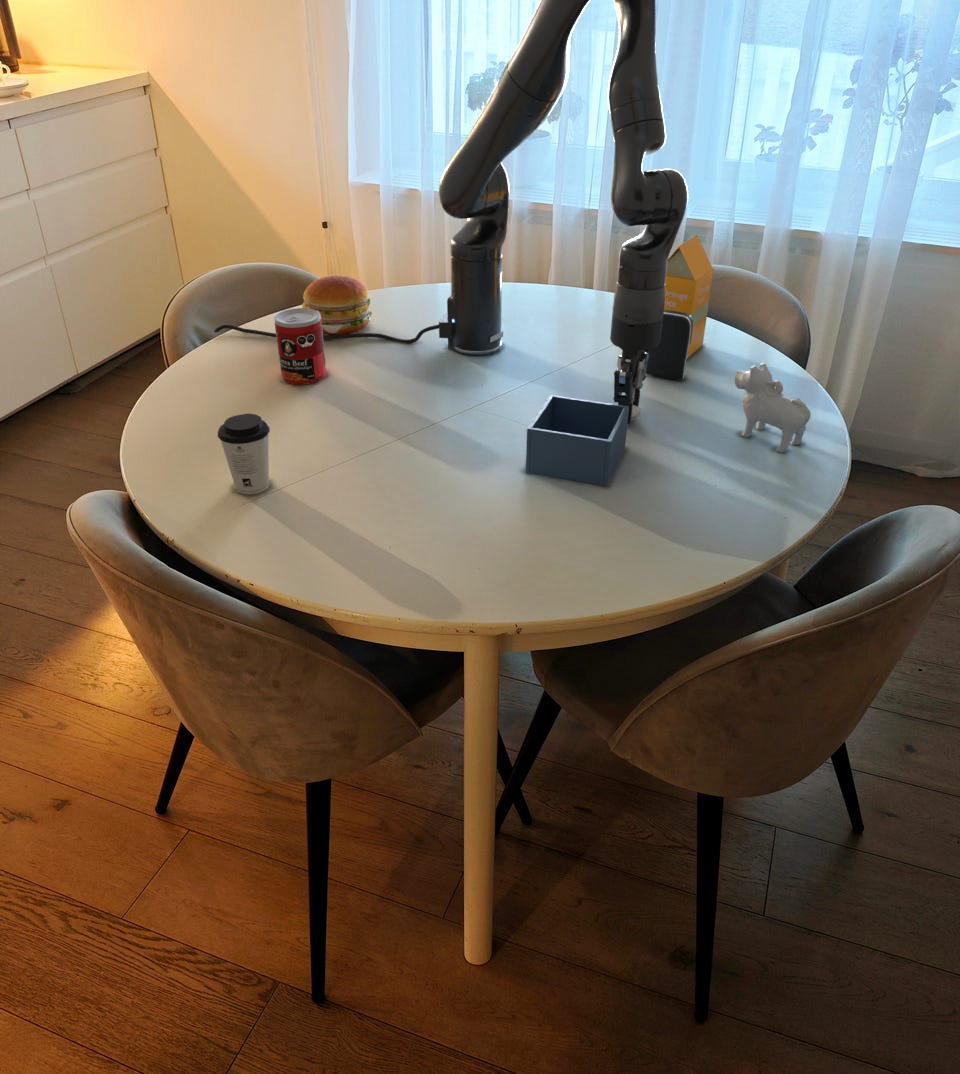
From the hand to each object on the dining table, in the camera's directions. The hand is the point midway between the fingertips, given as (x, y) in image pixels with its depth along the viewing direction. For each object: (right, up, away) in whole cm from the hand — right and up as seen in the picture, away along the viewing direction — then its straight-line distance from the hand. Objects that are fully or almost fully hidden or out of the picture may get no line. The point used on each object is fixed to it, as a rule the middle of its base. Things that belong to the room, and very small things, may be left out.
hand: (627, 416), depth 144 cm
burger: (-51, +22, +35) cm, 66 cm away
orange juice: (+13, +16, +26) cm, 33 cm away
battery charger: (+9, +9, +15) cm, 20 cm away
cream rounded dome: (0, 0, +1) cm, 1 cm away
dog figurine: (+20, -4, -4) cm, 21 cm away
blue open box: (-9, -5, -13) cm, 16 cm away
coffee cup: (-55, -12, -17) cm, 59 cm away
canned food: (-54, +9, +15) cm, 57 cm away
